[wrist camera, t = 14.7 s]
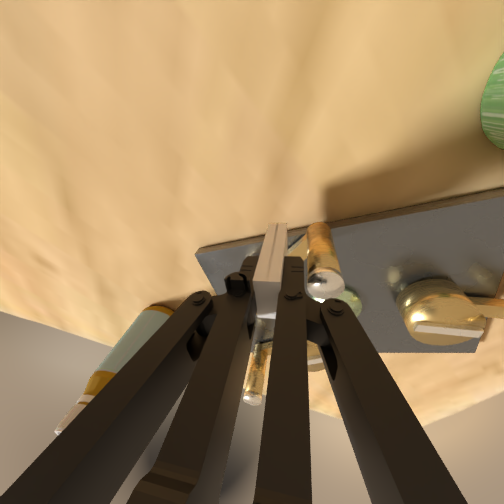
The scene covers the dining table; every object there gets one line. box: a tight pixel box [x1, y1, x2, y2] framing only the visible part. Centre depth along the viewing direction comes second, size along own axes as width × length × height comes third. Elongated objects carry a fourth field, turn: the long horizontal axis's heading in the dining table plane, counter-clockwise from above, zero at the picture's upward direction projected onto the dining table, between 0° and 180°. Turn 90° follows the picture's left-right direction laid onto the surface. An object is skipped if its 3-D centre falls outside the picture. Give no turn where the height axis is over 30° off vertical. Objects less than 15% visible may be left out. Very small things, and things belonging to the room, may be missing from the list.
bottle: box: [55, 306, 174, 435], centre depth 27 cm, size 7×7×15 cm
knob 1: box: [256, 222, 345, 315], centre depth 17 cm, size 11×5×7 cm, turn 144°
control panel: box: [195, 188, 504, 353], centre depth 22 cm, size 26×18×2 cm
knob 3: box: [396, 279, 504, 345], centre depth 16 cm, size 11×5×7 cm, turn 95°
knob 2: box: [243, 340, 325, 406], centre depth 24 cm, size 10×5×7 cm, turn 129°
